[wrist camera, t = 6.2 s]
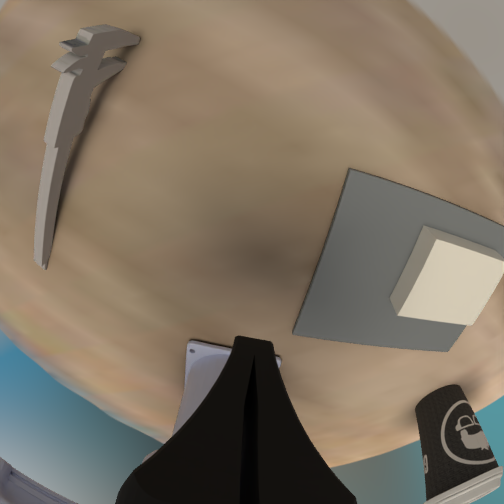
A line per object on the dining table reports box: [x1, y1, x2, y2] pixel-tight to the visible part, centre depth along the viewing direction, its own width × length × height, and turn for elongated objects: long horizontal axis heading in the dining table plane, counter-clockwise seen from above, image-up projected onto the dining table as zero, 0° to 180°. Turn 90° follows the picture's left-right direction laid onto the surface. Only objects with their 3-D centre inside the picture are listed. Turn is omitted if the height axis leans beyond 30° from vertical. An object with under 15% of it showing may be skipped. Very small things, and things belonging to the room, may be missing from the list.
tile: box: [390, 225, 504, 326], centre depth 18 cm, size 6×2×8 cm
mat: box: [293, 168, 504, 352], centre depth 20 cm, size 13×16×1 cm
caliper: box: [34, 24, 140, 270], centre depth 15 cm, size 20×1×6 cm, turn 144°
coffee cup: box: [415, 385, 503, 504], centre depth 21 cm, size 10×10×15 cm
